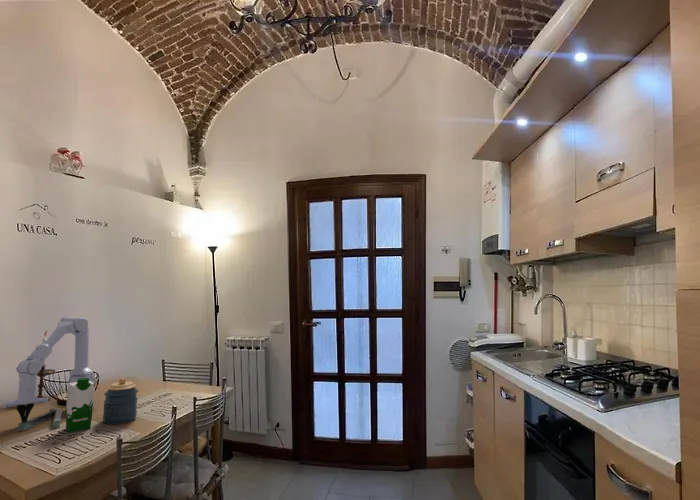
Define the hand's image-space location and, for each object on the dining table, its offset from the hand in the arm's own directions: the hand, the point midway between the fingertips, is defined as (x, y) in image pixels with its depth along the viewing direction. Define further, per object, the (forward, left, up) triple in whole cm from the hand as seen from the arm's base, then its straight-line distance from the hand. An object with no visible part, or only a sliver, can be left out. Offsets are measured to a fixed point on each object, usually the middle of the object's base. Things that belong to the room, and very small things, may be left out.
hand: (24, 423), depth 167 cm
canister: (-34, +10, -1) cm, 35 cm away
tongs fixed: (-10, -1, -1) cm, 10 cm away
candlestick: (-2, -42, -1) cm, 43 cm away
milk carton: (-19, +14, -1) cm, 23 cm away
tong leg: (-4, -1, -1) cm, 4 cm away
